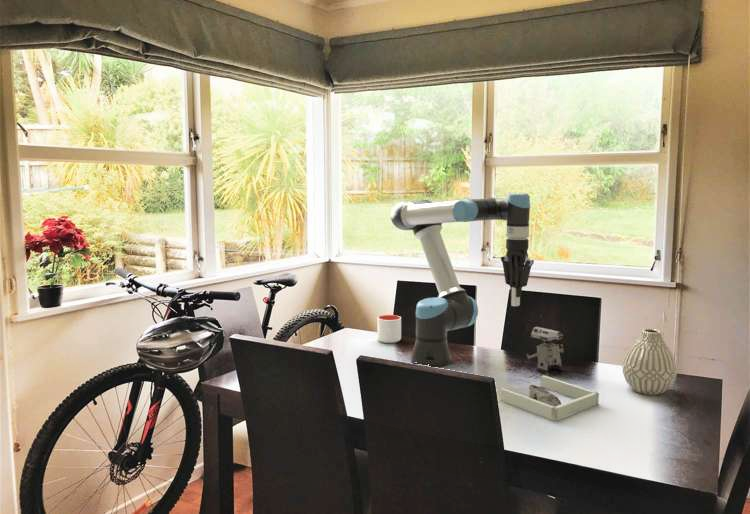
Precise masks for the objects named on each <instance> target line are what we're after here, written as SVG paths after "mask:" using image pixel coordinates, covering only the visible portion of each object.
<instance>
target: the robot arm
mask: <svg viewBox="0 0 750 514" xmlns="http://www.w3.org/2000/svg"><path fill="white" fill-rule="evenodd" d="M530 199H531V198H530V195H529V193H522V192H520V193H519V192H518V193H517V192H514V193H512V192H509V193H508V194H507V197H506V198H496V197H484V198H471V199H470V198H465V199H459V200H450V201H441V202H436V201H434V200H428V199H423V200H403V201H400V202H397V203H396V204H395V205H394V206H393V207H392V209H391V212H390V220H391V222H392V225H393V226H395V228H397V229H399V230H402V231H412V233H413V234H414V237H415V238H416V239H418V240H419V241H420V244H421V246H422V250H423V252H424V255H425V258H426V261H427V263H428V267H429V270H430V272H431V274H432V278H433V280H434V283H435V286H436V289H437V292H438V295H437V296H436V297H435V296H434V297H427V298H424V299H422V300H421V299H420V300H419V301H418V302H417V303H416V306H415V307H416V308H415V343H414V345H413V348H412V352H411V355H410V361H411V360H412V361H413V362H417V364H422V365H428V364H429V366H434V367H433V368H436V367H437V368H438V367H443V366H442V365H445V366H447V365H446V364H448V365H450V364H451V363H452V354H451V352H450V347H449V344H448V331H449V332H450V331H454V330H458V329H465V328H467V327H470V326H472V325H473V324H474V323H475V322H476V321H477V317H478V315H479V307H478V304H477V302H476V300H475V299H474V298H473V297H472V296H469V295H468V294H467V292H466V289H464V288H462V287H461V286H460V284H459V280H458V279H457V278H458V277H457V276H456V273H455V270H454V266H453V264H452V262H451V261H452V260H451V258H450V256H449V254H448V250H447V248H446V246H445V245H446V244H445V243H444V240H443V239H444V238H443V236H442V234H441V231H442V229H443V226H442V225H443V224H448V223H462V222H463V223H468V222H477V221H479V222H481V221H493V220H495V221H496V220H497V221H506V241H505V245H506V246H505V249H506V252H505V253H506V254H505V255H504V256H500V261H501V263H502V268H503V275H504V280H505V281H504V282H505V284H506V285H508V286H509V288H510V290H509V292H510V293H509V295H510V296H511V297H510V298H511V299H510V300H511V301H510V303H511V304H510V305H511V307H519V306H521V297H522V295H523V294H522V291H523V290H522V289H523V287H527V285H528V282H529V277H530V275H531V268H532V266H533V264H534V261H535V260H533V259H531V258H530V257H529V254H528V250H529V245H530V244H529V242H530V240H529V239H528V238H529V237H530V212H531V211H530V210H531V203H530V202H531V200H530ZM412 361H411V362H412ZM413 362H412V363H413ZM450 362H451V363H450ZM449 363H450V364H449ZM417 364H416V365H417Z"/></svg>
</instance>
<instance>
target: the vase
mask: <svg viewBox="0 0 750 514" xmlns="http://www.w3.org/2000/svg"><path fill="white" fill-rule="evenodd" d="M677 372H678V371H677V364H676V359H675V357H674V354H673V353H672V351H671V349H670V348H669V347H668V345H667V344H666V342H665V341H664V339H663V336H662V332H661V330H658V329H655V328H644V329H642V330H641V332H640V335H639V336H638V338H637V339H636V340H635V341H634V342H633V343H632V344H631V346H630V347H629V348H628V350H627V351H626V353H625V355H624V358H623V362H622V374H623V377H624V379H625V381H626V383H627V385H628V387H630V388H631V389H632V390H634V391H635V392H637V393H639V394H643V395H647V396H658V395H662V394H663V393H665V392H667V391H668V390H670V389H671V387H672V386H673V384H674V383H675V381H676V378H677Z"/></svg>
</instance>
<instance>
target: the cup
mask: <svg viewBox="0 0 750 514" xmlns="http://www.w3.org/2000/svg"><path fill="white" fill-rule="evenodd" d="M377 339H378V342H379V341H380V342H381V343H385V344H386V343H387V344H394V343H398V342H400V341H401V339H402V316H399V315H397V314H395V315H394V314H385V315H379V316H378V317H377Z"/></svg>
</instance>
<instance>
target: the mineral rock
mask: <svg viewBox="0 0 750 514" xmlns="http://www.w3.org/2000/svg"><path fill="white" fill-rule="evenodd" d="M528 390H529V393H528V397H529V398H532V399H534V400H537V401H540V402H543V403H545V404H548V405H551V406H554V407H555V406H558V405H561V404H562V402H561V400H560V399H559V398H558V397H557V396H556V395H555V394H553V393H552V392H550V391H548V389H546V388H544V387H541V386H538V385H534V384H530V385H529V387H528Z"/></svg>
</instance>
